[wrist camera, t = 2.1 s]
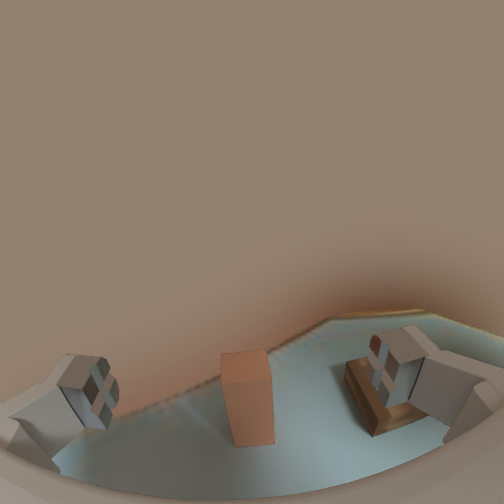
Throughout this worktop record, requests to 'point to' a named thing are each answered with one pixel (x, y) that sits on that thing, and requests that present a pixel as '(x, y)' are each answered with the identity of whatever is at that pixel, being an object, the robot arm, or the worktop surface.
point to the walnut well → (377, 402)
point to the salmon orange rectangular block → (248, 397)
